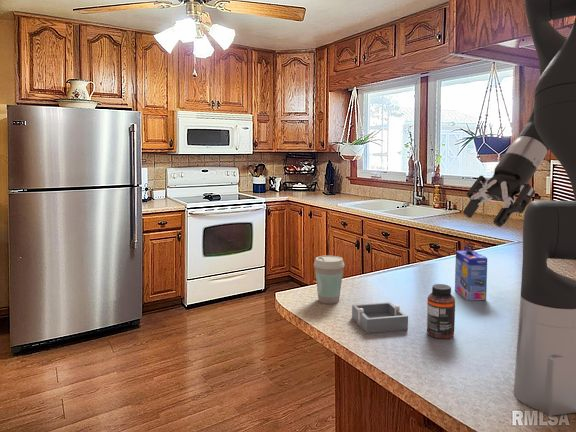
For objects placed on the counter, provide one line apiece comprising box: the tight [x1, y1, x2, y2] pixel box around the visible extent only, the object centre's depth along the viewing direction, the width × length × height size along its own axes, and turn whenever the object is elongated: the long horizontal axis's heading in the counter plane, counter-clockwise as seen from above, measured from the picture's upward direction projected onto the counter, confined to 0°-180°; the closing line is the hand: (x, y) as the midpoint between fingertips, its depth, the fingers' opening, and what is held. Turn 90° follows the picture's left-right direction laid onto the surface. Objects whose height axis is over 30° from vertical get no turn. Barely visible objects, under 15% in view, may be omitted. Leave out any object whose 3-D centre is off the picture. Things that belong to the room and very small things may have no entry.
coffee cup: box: [313, 255, 346, 305], centre depth 124 cm, size 9×9×12 cm
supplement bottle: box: [426, 283, 456, 340], centre depth 100 cm, size 6×6×11 cm
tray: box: [351, 301, 409, 334], centre depth 107 cm, size 10×10×4 cm
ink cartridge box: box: [454, 244, 488, 301], centre depth 128 cm, size 10×6×14 cm, turn 2°
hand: (481, 220), depth 100 cm, fingers open, 8 cm apart
